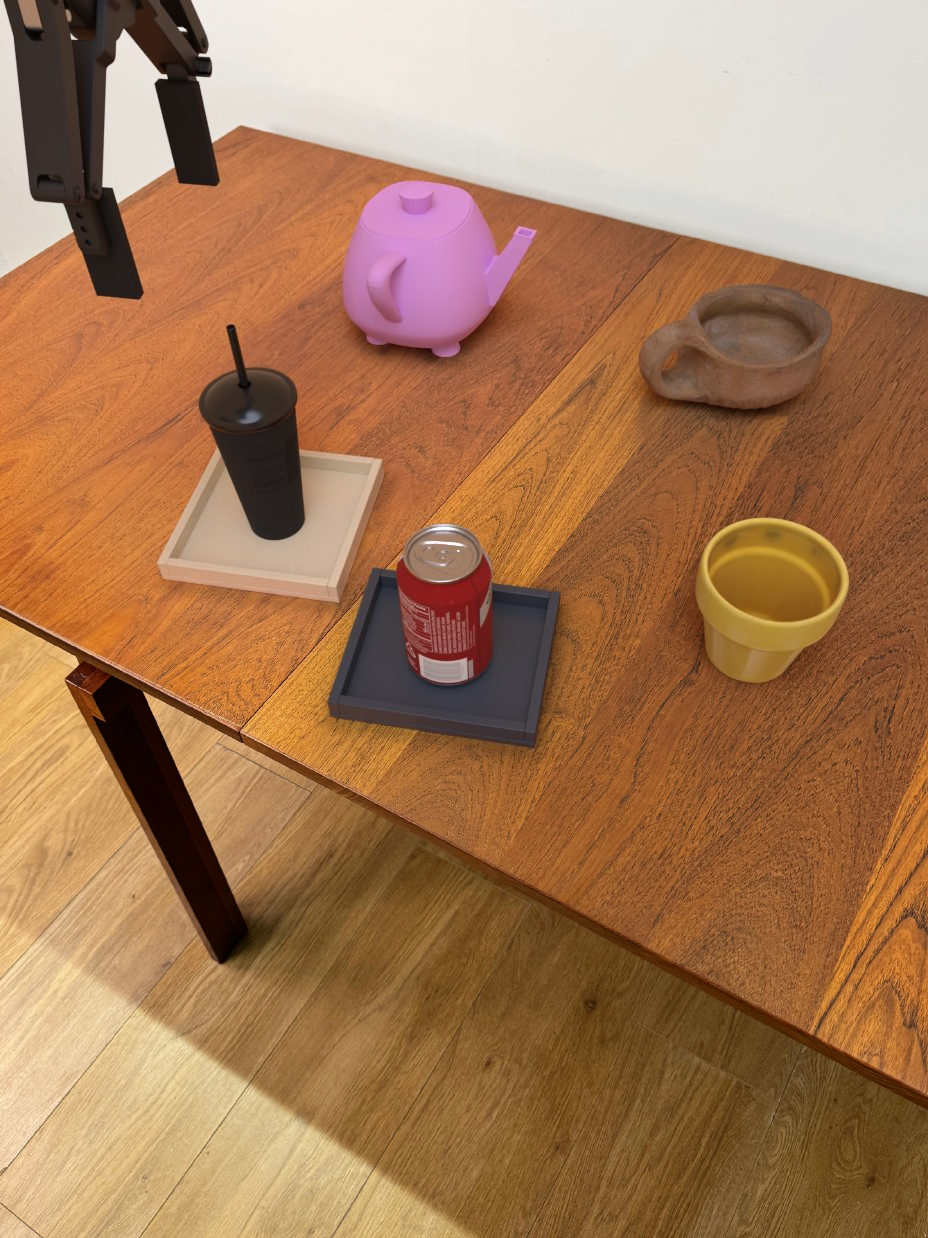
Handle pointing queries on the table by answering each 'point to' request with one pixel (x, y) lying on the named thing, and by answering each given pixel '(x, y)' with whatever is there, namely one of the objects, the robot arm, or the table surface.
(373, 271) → the teapot
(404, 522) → the table surface
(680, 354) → the bowl
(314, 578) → the cup tray
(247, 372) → the drinking cup
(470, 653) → the soda can
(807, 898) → the table surface
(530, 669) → the can tray
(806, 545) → the flower pot
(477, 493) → the table surface
